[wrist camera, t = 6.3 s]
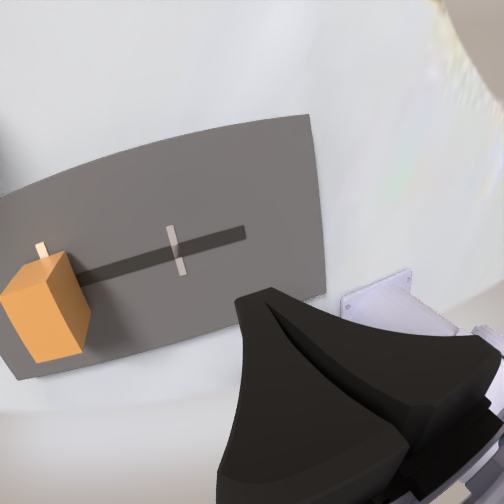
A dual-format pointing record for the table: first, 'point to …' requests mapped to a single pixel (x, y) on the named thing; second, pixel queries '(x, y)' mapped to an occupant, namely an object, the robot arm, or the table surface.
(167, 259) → the board
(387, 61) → the table surface
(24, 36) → the table surface
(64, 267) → the fader knob
